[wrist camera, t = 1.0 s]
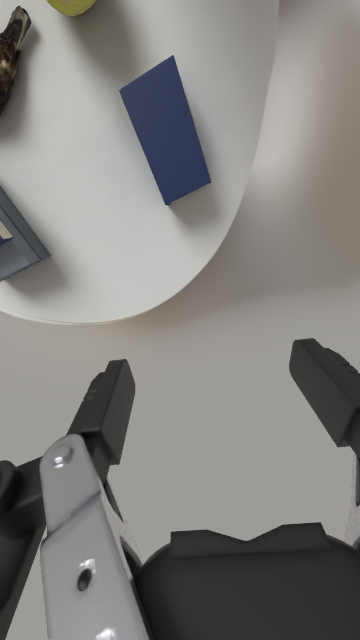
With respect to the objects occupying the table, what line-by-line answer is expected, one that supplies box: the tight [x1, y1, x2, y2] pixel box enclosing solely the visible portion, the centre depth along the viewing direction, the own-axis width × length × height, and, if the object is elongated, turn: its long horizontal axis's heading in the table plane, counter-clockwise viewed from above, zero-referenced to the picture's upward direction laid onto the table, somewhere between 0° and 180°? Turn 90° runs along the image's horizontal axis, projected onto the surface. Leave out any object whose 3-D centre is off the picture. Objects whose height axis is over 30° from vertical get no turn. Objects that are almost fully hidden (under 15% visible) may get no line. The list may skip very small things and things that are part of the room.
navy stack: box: [119, 55, 211, 205], centre depth 24 cm, size 6×11×4 cm, turn 23°
